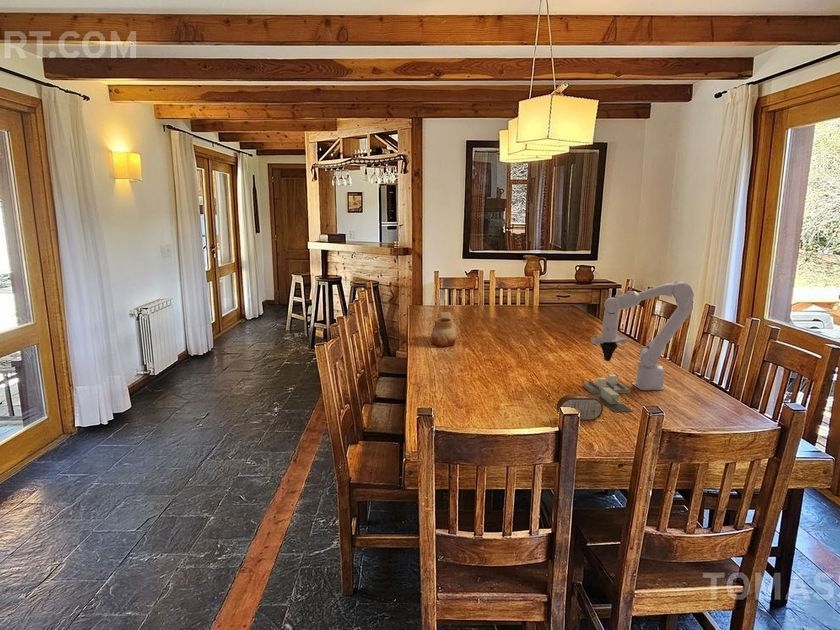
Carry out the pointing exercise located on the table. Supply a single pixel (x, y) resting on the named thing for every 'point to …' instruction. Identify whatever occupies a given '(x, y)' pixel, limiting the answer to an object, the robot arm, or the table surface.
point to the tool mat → (614, 405)
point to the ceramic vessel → (444, 331)
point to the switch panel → (617, 388)
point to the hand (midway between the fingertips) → (607, 360)
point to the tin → (583, 405)
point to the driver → (610, 396)
